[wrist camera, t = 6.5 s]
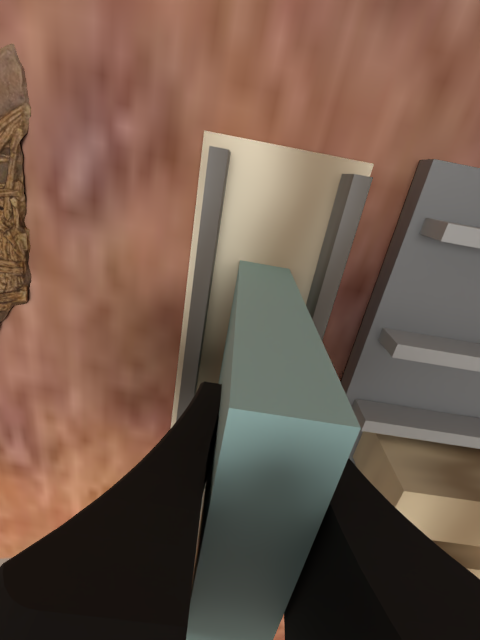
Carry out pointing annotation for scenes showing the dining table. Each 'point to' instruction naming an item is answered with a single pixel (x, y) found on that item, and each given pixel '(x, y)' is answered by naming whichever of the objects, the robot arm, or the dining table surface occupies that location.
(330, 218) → the holder
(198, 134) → the dining table surface
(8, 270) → the wooden fragment
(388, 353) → the rack
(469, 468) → the block
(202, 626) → the teal rectangular block
